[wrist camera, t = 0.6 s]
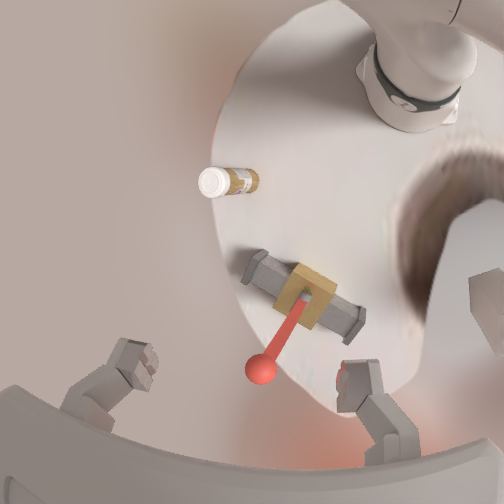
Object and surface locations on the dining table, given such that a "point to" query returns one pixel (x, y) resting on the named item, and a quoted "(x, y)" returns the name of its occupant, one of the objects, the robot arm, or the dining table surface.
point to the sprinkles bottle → (227, 181)
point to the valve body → (305, 279)
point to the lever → (275, 345)
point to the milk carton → (489, 306)
